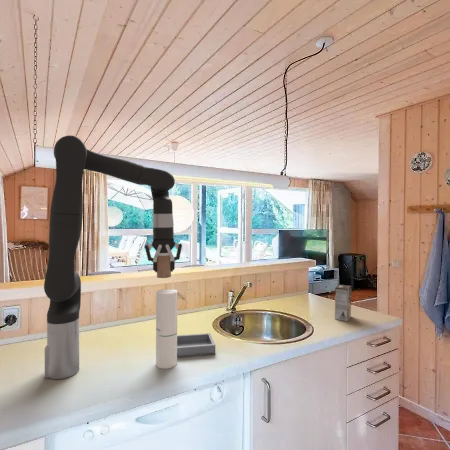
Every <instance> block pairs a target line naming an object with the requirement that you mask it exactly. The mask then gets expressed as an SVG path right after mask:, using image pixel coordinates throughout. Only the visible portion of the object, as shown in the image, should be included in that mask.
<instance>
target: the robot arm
mask: <svg viewBox="0 0 450 450" xmlns="http://www.w3.org/2000/svg"><path fill="white" fill-rule="evenodd" d="M53 157H54V159H55V174H56V175H55V183H54V184H55V185H54V188H53V193H52V198H51V202H50V203H51V204H50V211H49V228H48V229H49V233H48V261H47V267H46V272H45V277H44V278H45V279H44V283H43V291H44V293H45V296H46V297H47V298H48V299H49V307H48V310H47V313H46V345H45V347H44V378H45V379H51V380H63V379H66V378H69V377H72V376H74V375H76V374H77V373H78V372H79V370H80V310H81V304H82V303H81V299H82V297H81V296H82V281H81V277H80V274H79V273H78V272H77V271H76V270H75V261H76V260H75V257H76V254H77V253H76V252H77V248H78V245H79V242H80V238H81V233H82V228H83V213H84V210H83V209H84V197H83V193H84V192H83V177H84V171H90V172H94V173H99V174H102V175H103V174H104V175H106V176H110V177H113V178H117V179H118V180H122V181H126V182H129V183H132V184H135V185H139V186H149V187H150V192H151V198H152V201H153V205H152V207H153V209H152V211H153V212H152V213H153V216H152V243H149V244H147V243H146V244H145V245H144V250H145V252H146V258H147V260H148V261H150V262H152V269H153V272H154V273H157V257H158V255H159V253H169V256H170V258H171V273H172V272H174V270H175V263H176V261H177V260H180V258H181V252H182V249H183V244H182V243H177V242H175V239H174V236H175V235H174V234H175V232H174V215H173V213H174V212H173V201H172V199H171V198H170V195H169V194H170V193H169V191H170V190H172V189H173V187H174V186H175V183H176V181H175V178H174V175H173V174H171V173H170V172H169V171H167V170H164V169H159V168H154V167H149V166H145V165H143V164H140V163H137V162H135V161H130V160H127V159H125V158H117V157H114V156H109V155H103V154H101V153H98V152H96V151H92V150H91V149H88V148H87V147H86V145H85V143H84V142H83V140H82V139H81V138H79V137H78V136H75V135H70V134H69V135H65V136H62V137H60V138H59V139H58V140H56V142H55V145H54V148H53ZM152 247H153V249H154V250H155V254H154V257H152V254H151V250H152ZM174 247H175V249H177V250H176V256H174V255H173V254H174V253H173V252H172V250H173V248H174Z"/></svg>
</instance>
